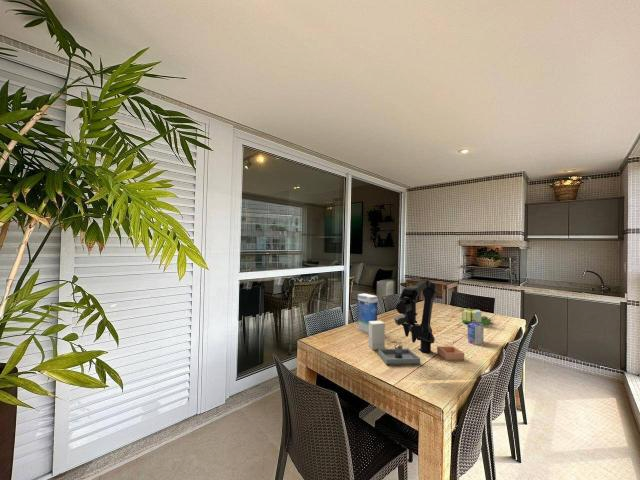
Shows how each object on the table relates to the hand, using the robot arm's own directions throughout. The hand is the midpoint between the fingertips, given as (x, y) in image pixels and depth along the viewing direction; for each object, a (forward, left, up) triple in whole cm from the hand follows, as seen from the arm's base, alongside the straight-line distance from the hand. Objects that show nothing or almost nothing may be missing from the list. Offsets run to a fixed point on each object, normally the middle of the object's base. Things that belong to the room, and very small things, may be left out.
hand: (410, 339), depth 150 cm
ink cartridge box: (-24, +55, -12) cm, 61 cm away
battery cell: (-1, -6, -10) cm, 12 cm away
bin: (-3, +25, -11) cm, 28 cm away
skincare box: (-18, -13, -12) cm, 25 cm away
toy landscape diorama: (-68, +86, -12) cm, 110 cm away
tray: (-1, -6, -11) cm, 13 cm away
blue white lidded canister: (-50, -10, -12) cm, 53 cm away
